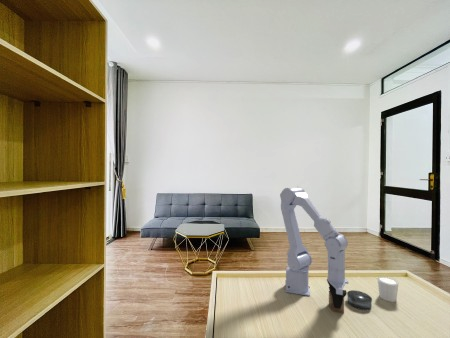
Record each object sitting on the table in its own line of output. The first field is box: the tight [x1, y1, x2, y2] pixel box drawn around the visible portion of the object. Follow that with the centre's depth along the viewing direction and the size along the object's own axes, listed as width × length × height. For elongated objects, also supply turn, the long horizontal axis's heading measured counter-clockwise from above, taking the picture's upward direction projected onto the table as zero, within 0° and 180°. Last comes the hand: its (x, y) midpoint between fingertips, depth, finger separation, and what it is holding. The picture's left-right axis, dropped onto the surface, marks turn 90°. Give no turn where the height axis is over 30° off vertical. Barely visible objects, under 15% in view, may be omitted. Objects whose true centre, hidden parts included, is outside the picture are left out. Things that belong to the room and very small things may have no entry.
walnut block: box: [328, 290, 345, 314], centre depth 84 cm, size 4×4×5 cm
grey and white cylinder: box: [377, 276, 399, 303], centre depth 91 cm, size 7×7×7 cm
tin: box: [346, 290, 373, 311], centre depth 87 cm, size 8×8×3 cm
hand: (336, 303), depth 84 cm, fingers closed on walnut block, 4 cm apart
